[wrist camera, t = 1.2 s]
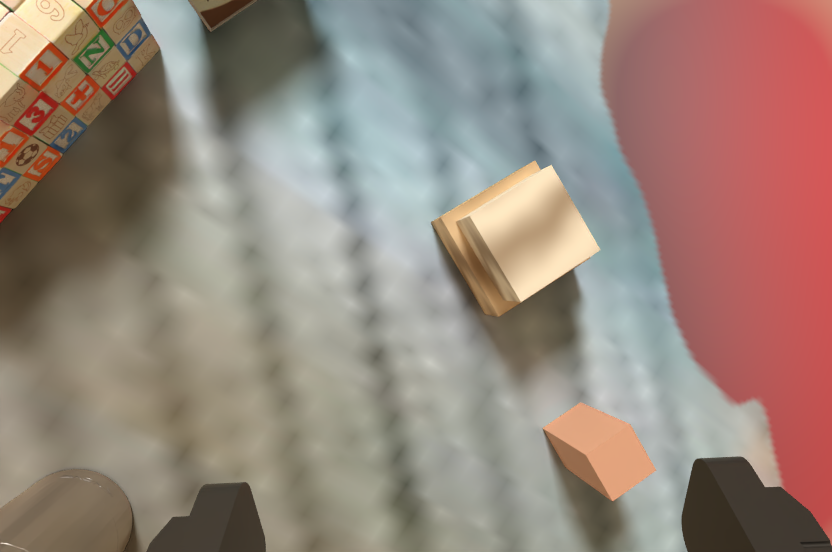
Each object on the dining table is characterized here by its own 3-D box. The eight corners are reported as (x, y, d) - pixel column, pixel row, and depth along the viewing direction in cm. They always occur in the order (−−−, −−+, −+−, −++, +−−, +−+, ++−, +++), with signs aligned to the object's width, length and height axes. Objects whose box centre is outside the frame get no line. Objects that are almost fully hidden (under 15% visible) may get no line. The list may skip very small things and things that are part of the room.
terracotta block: (602, 441, 58) (656, 470, 49) (565, 467, 57) (612, 501, 48) (580, 402, 57) (630, 424, 49) (542, 428, 57) (585, 455, 48)
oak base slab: (569, 259, 58) (590, 257, 53) (483, 314, 56) (498, 316, 52) (517, 170, 57) (535, 160, 53) (430, 222, 55) (440, 217, 51)
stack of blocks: (-11, 241, 49) (-117, 226, 37) (-78, 192, 48) (-210, 161, 36) (162, 47, 51) (116, -26, 39) (101, -3, 50) (35, -93, 38)
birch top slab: (576, 252, 53) (600, 249, 49) (503, 300, 52) (521, 302, 48) (531, 174, 52) (551, 165, 48) (455, 221, 51) (469, 215, 47)
